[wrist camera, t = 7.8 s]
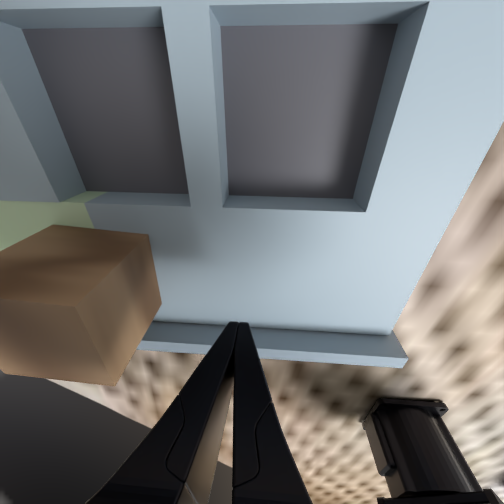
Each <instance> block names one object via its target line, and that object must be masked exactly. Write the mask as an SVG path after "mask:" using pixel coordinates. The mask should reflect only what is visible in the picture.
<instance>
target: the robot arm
mask: <svg viewBox="0 0 504 504" xmlns="http://www.w3.org/2000/svg"><path fill="white" fill-rule="evenodd" d="M233 385H234V401H233V479H232V487H233V490H232V504H313V503H312V501H311V499H310V496H309V494H308V492H307V489H306V487H305V485H304V482H303V480H302V478H301V475H300V473H299V471H298V468H297V466H296V464H295V461H294V459H293V457H292V454H291V452H290V450H289V447H288V444H287V442H286V439H285V437H284V434H283V432H282V429H281V426H280V423H279V420H278V417H277V414H276V411H275V407H274V404H273V403H272V398H271V395H270V391H269V388H268V385H267V381H266V378H265V375H264V371H263V368H262V365H261V362H260V358H259V355H258V352H257V348H256V345H255V342H254V338H253V335H252V332H251V328H250V325H249V323H248V322H237V321H230V322H229V323H228V324H227V325H226V327H225V328H224V330H223V331H222V332H221V334H220V335H219V337H218V338H217V340H216V341H215V342H214V344H213V345H212V347H211V348H210V350H209V351H208V352H207V354H206V355H205V357H204V358H203V360H202V361H201V362H200V364H199V365H198V367H197V368H196V369H195V371H194V372H193V374H192V375H191V377H190V378H189V379H188V381H187V382H186V384H185V385H184V387H183V388H182V389H181V391H180V392H179V395H177V396H176V398H175V399H174V401H173V402H172V403H171V405H170V406H169V408H168V409H167V410H166V412H165V413H164V414H163V416H162V417H161V418H160V420H159V421H158V422H157V423H156V425H155V426H154V427H153V428H152V430H151V431H150V432H149V433H148V435H147V436H146V437H145V438H144V439H143V441H142V442H141V443H140V444H139V445H138V446H137V448H136V449H135V450H134V451H133V452H132V453H131V455H130V456H129V457H128V458H127V459H126V460H125V462H124V463H123V464H122V465H121V466H120V468H119V469H118V470H117V471H116V472H115V473H114V475H113V476H112V477H111V478H110V479H109V481H107V483H106V484H105V485H104V486H103V487H102V488H101V489H100V490H99V491H98V492H97V493H96V494H95V495H94V496H93V497H92V498H91V499H89V500H88V501H87V502H86V503H85V504H208V501H209V495H210V492H211V487H212V482H213V478H214V473H215V468H216V464H217V459H218V455H219V450H220V445H221V441H222V436H223V431H224V427H225V422H226V417H227V413H228V408H229V404H230V399H231V394H232V390H233ZM447 411H448V408H447V406H446V404H445V403H436V402H424V401H411V400H398V399H385V398H382V399H379V400H377V402H376V403H375V405H374V406H373V408H372V410H371V411H370V413H369V414H368V416H367V417H366V419H365V420H364V422H363V423H362V426H363V429H364V430H366V433H367V437H368V440H369V443H370V446H371V450H372V453H373V456H374V460H375V463H376V466H377V470H378V472H379V474H380V475H381V476H385V478H386V482H387V485H388V488H389V491H390V494H391V497H392V498H384V497H378V498H377V502H378V504H504V503H503V502H502V501H501V500H500V499H499V497H498V496H497V495H496V494H495V493H494V492H493V490H492V489H483V490H482V489H481V487H480V485H479V483H478V481H477V480H476V478H475V476H474V474H473V473H472V471H471V469H470V467H469V466H468V464H467V462H466V460H465V458H464V457H463V455H462V453H461V451H460V450H459V448H458V446H457V444H456V443H455V441H454V439H453V437H452V435H451V434H450V432H449V430H448V428H447V427H446V425H445V423H444V421H443V420H442V418H441V417H442V416H443V415H444V414H445V413H446V412H447Z"/></svg>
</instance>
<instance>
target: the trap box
mask: <svg viewBox="0 0 504 504" xmlns="http://www.w3.org/2000/svg"><path fill="white" fill-rule="evenodd" d="M503 121H504V0H0V251H2V250H4V249H5V248H7V247H9V246H11V245H13V244H15V243H17V242H19V241H21V240H23V239H25V238H27V237H29V236H31V235H33V234H35V233H37V232H39V231H41V230H43V229H45V228H47V227H49V226H51V225H53V224H54V225H63V226H73V227H83V228H92V229H102V230H111V231H121V232H131V233H140V234H148V235H149V240H150V245H151V250H152V255H153V260H154V265H155V270H156V275H157V280H158V286H159V291H160V296H161V301H162V305H161V307H160V308H159V310H158V312H157V314H156V315H155V317H154V319H153V321H152V322H151V324H150V326H149V328H148V329H147V331H146V333H145V335H144V336H143V338H142V340H141V342H140V343H139V345H138V347H137V349H136V350H150V351H164V352H179V353H193V354H207V352H208V351H209V350H210V348H211V347H212V345H213V344H214V342H215V341H216V340H217V338H218V337H219V335H220V334H221V332H222V331H223V330H224V328H225V327H226V325H227V324H228V323H229V322H230V321H237V322H248V323H249V325H250V328H251V332H252V335H253V338H254V342H255V345H256V348H257V352H258V355H259V358H264V359H279V360H293V361H307V362H322V363H336V364H350V365H365V366H379V367H393V368H403V366H404V365H405V363H406V362H407V360H408V359H409V358H408V357H407V355H406V353H405V351H404V350H403V348H402V346H401V344H400V343H399V341H398V339H397V337H396V336H395V334H394V332H393V330H392V329H393V327H394V325H395V324H396V322H397V320H398V318H399V316H400V314H401V312H402V310H403V309H404V307H405V305H406V303H407V301H408V299H409V297H410V296H411V294H412V292H413V290H414V288H415V286H416V284H417V282H418V281H419V279H420V277H421V275H422V273H423V271H424V269H425V267H426V266H427V264H428V262H429V260H430V258H431V256H432V254H433V252H434V251H435V249H436V247H437V245H438V243H439V241H440V239H441V237H442V236H443V234H444V232H445V230H446V228H447V226H448V224H449V223H450V221H451V219H452V217H453V215H454V213H455V211H456V209H457V208H458V206H459V204H460V202H461V200H462V198H463V196H464V194H465V193H466V191H467V189H468V187H469V185H470V183H471V181H472V179H473V178H474V176H475V174H476V172H477V170H478V168H479V166H480V164H481V163H482V161H483V159H484V157H485V155H486V153H487V151H488V149H489V148H490V146H491V144H492V142H493V140H494V138H495V136H496V135H497V133H498V131H499V129H500V127H501V125H502V123H503Z"/></svg>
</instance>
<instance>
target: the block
mask: <svg viewBox="0 0 504 504" xmlns="http://www.w3.org/2000/svg"><path fill="white" fill-rule="evenodd" d="M161 305H162V301H161V296H160V291H159V286H158V280H157V275H156V270H155V265H154V260H153V255H152V250H151V245H150V240H149V235H148V234H140V233H131V232H121V231H111V230H102V229H92V228H83V227H73V226H63V225H54V224H53V225H51V226H49V227H47V228H45V229H43V230H41V231H39V232H37V233H35V234H33V235H31V236H29V237H27V238H25V239H23V240H21V241H19V242H17V243H15V244H13V245H11V246H9V247H7V248H5V249H4V250H2V251H0V369H1V370H2V371H3V372H4V373H5V374H14V375H22V376H30V377H39V378H47V379H56V380H65V381H73V382H82V383H90V384H99V385H108V386H116V384H117V382H118V380H119V379H120V377H121V375H122V373H123V372H124V370H125V368H126V366H127V365H128V363H129V361H130V359H131V358H132V356H133V354H134V352H135V351H136V349H137V347H138V345H139V343H140V342H141V340H142V338H143V336H144V335H145V333H146V331H147V329H148V328H149V326H150V324H151V322H152V321H153V319H154V317H155V315H156V314H157V312H158V310H159V308H160V307H161Z"/></svg>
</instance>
